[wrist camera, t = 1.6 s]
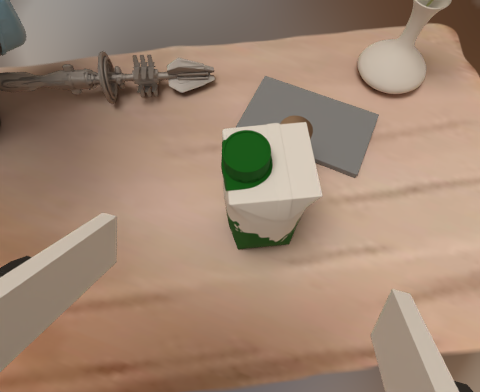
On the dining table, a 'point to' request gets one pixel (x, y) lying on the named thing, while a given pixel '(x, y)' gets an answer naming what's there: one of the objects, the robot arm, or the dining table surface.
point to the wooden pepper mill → (298, 120)
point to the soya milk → (267, 181)
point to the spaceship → (113, 77)
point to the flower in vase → (399, 54)
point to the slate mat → (316, 122)
